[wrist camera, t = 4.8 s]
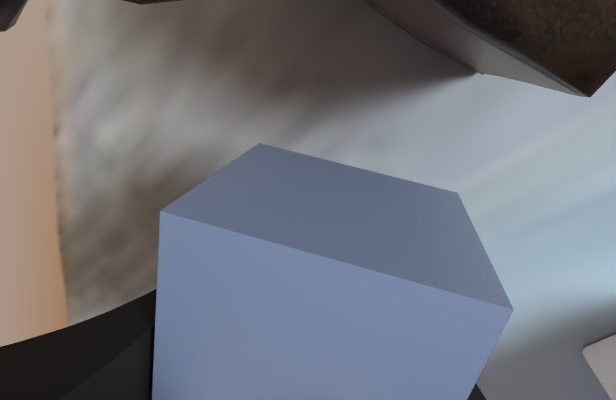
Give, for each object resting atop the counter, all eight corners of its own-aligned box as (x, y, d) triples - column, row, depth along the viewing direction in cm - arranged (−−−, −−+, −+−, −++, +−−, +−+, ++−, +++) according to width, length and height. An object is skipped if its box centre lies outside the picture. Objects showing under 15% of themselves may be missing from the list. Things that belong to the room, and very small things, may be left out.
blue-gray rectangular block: (375, 406, 14) (368, 591, 9) (227, 358, 14) (147, 508, 10) (457, 193, 10) (513, 310, 6) (258, 143, 11) (160, 211, 6)
